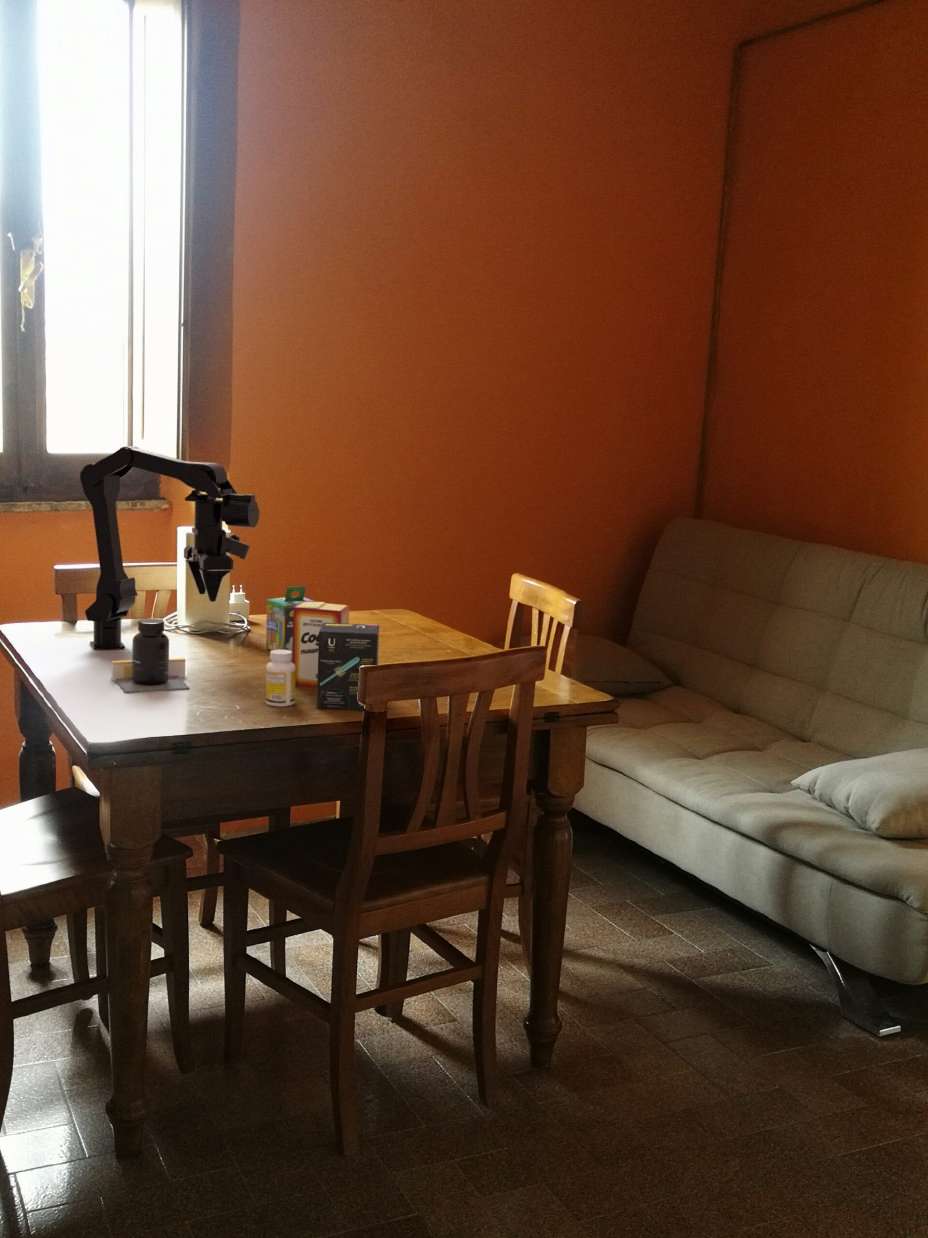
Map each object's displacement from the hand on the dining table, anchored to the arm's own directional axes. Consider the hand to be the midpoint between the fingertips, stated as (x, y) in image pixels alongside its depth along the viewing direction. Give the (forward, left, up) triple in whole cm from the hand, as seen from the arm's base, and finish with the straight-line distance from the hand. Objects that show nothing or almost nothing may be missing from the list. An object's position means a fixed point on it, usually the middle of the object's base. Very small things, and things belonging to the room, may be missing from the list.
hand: (207, 597), depth 249 cm
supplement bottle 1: (+20, -16, -13) cm, 28 cm away
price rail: (+15, -15, -13) cm, 25 cm away
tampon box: (+43, +16, -13) cm, 48 cm away
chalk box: (-3, +20, -13) cm, 24 cm away
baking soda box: (+27, +16, -13) cm, 34 cm away
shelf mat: (+21, -16, -13) cm, 29 cm away
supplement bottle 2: (+40, +4, -13) cm, 42 cm away
